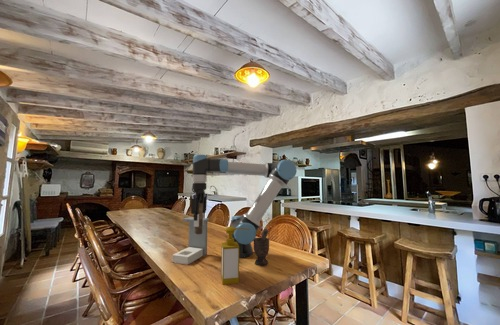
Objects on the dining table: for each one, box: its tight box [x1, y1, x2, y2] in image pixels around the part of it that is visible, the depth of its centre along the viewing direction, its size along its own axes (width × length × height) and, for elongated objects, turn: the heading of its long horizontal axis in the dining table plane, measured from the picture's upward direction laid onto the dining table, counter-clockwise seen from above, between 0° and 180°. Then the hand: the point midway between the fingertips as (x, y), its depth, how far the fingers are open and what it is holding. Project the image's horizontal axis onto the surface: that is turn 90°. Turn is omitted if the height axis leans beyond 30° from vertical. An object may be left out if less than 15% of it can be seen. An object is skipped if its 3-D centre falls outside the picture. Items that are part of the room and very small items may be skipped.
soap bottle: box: [220, 226, 249, 285], centre depth 98 cm, size 7×13×24 cm, turn 102°
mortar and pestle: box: [253, 228, 270, 267], centre depth 115 cm, size 12×9×20 cm
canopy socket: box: [171, 216, 210, 266], centre depth 125 cm, size 14×18×22 cm
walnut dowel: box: [195, 203, 203, 234], centre depth 116 cm, size 4×4×16 cm
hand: (198, 225), depth 116 cm, fingers closed on walnut dowel, 4 cm apart
